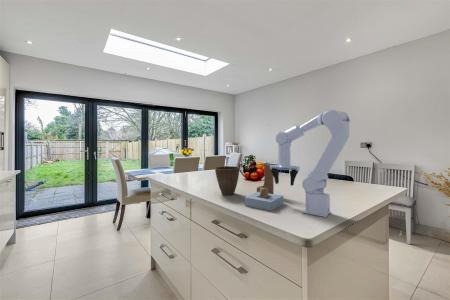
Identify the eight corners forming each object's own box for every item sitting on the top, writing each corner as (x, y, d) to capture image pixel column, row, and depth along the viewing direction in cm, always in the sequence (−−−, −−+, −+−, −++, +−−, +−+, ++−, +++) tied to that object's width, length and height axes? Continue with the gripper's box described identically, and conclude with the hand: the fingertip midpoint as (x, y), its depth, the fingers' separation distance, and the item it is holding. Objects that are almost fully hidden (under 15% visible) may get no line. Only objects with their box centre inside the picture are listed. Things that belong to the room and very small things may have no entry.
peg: (269, 204, 102) (269, 188, 101) (266, 206, 98) (266, 189, 98) (261, 203, 104) (261, 187, 104) (258, 205, 100) (258, 188, 100)
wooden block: (256, 195, 119) (256, 164, 119) (258, 193, 124) (258, 163, 123) (272, 196, 116) (271, 165, 115) (273, 194, 120) (273, 164, 119)
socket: (283, 203, 103) (283, 195, 102) (271, 210, 91) (271, 202, 91) (258, 199, 111) (258, 191, 111) (244, 205, 100) (244, 197, 100)
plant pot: (214, 197, 117) (213, 169, 116) (216, 191, 132) (215, 166, 131) (240, 197, 116) (240, 169, 116) (239, 191, 131) (239, 166, 131)
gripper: (267, 156, 102) (267, 184, 102) (296, 157, 93) (296, 187, 93) (273, 156, 107) (273, 181, 108) (301, 156, 98) (301, 184, 99)
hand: (284, 184), depth 101 cm, fingers open, 7 cm apart
